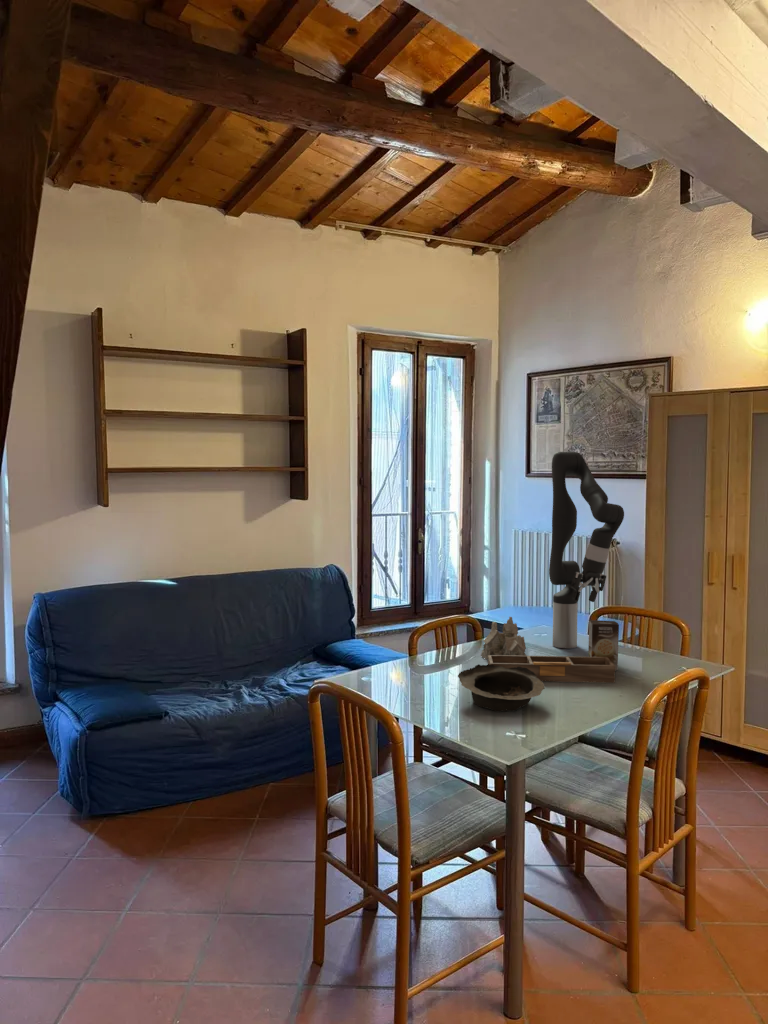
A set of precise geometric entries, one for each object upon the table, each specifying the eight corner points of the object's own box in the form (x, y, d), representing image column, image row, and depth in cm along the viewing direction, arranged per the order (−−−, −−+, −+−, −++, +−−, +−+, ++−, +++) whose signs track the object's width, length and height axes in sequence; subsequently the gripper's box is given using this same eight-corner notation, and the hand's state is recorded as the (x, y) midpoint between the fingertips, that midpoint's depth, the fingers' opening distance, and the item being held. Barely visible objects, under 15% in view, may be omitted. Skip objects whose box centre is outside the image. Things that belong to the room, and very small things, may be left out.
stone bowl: (486, 685, 232) (488, 657, 231) (557, 707, 216) (560, 677, 215) (442, 703, 213) (444, 673, 212) (517, 729, 197) (520, 696, 196)
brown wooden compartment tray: (487, 670, 249) (488, 653, 248) (607, 673, 246) (607, 655, 245) (490, 680, 237) (490, 662, 237) (615, 683, 234) (615, 664, 234)
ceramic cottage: (480, 652, 273) (482, 613, 271) (524, 654, 272) (526, 615, 270) (482, 666, 258) (484, 625, 256) (528, 669, 256) (531, 627, 254)
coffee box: (590, 670, 249) (591, 623, 248) (587, 665, 256) (588, 619, 255) (618, 670, 249) (619, 624, 248) (614, 665, 255) (615, 620, 254)
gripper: (601, 555, 263) (589, 597, 266) (574, 553, 255) (561, 596, 258) (617, 562, 257) (604, 605, 260) (589, 560, 249) (576, 604, 252)
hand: (583, 601), depth 259 cm, fingers open, 8 cm apart
